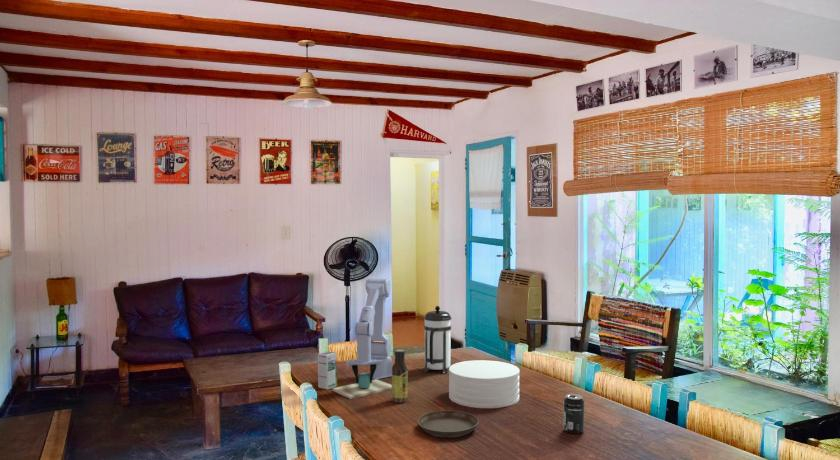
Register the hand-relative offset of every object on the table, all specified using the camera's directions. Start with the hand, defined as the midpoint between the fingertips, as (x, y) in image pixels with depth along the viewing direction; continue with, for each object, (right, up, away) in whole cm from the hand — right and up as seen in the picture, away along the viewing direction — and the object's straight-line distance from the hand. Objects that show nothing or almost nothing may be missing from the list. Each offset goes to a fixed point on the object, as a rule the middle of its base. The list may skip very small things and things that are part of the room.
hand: (364, 382), depth 258 cm
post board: (0, -3, 0) cm, 3 cm away
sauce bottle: (+15, -4, -15) cm, 21 cm away
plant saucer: (+33, -5, -45) cm, 56 cm away
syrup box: (-16, -3, +4) cm, 17 cm away
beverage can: (+75, -5, -48) cm, 89 cm away
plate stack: (+49, -4, -10) cm, 50 cm away
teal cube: (0, -1, 0) cm, 1 cm away
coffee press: (+31, -2, +30) cm, 43 cm away
